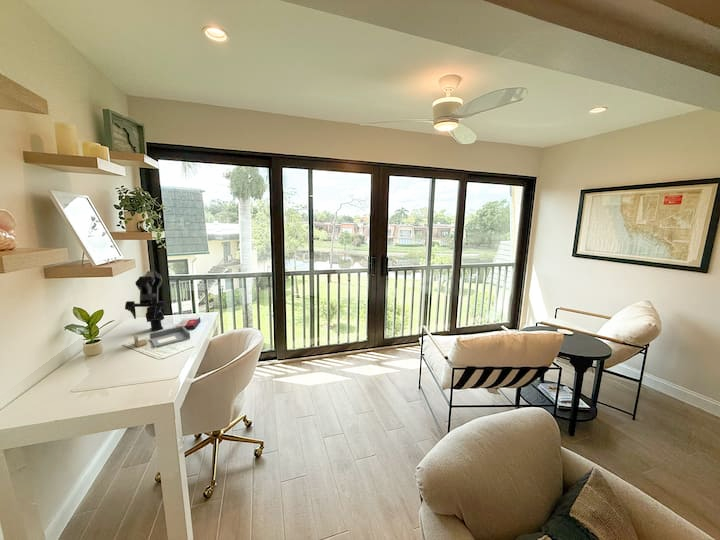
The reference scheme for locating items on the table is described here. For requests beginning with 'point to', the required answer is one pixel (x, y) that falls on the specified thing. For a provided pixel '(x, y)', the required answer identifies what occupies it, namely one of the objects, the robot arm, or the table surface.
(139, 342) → the bracket
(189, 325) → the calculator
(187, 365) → the table surface
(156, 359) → the table surface
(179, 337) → the arena
